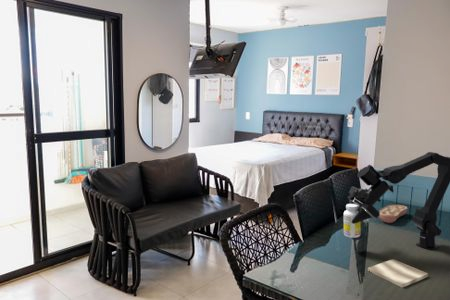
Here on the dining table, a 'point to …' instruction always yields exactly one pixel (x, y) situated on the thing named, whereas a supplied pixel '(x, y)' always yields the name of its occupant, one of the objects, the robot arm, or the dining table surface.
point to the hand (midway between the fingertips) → (348, 220)
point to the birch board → (398, 272)
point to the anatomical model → (392, 213)
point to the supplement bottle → (349, 215)
